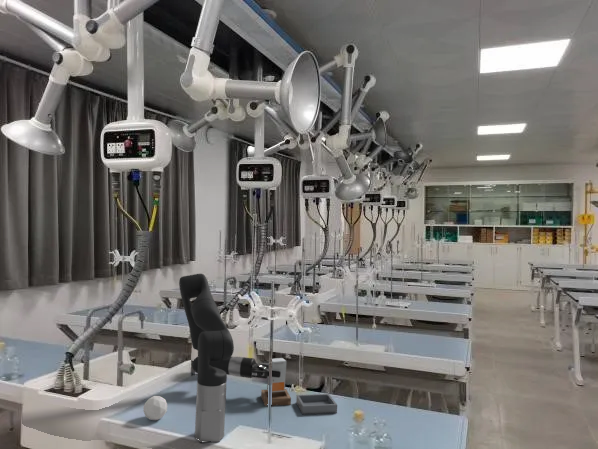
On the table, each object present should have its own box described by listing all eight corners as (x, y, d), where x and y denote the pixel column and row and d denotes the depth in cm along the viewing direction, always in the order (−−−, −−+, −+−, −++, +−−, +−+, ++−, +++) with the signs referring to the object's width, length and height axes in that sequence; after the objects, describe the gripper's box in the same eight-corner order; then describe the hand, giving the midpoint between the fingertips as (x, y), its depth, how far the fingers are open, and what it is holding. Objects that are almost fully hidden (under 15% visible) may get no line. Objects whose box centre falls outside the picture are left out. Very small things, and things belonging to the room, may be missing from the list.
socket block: (290, 404, 171) (290, 398, 171) (264, 405, 169) (265, 399, 169) (285, 395, 180) (286, 388, 180) (261, 396, 178) (261, 389, 178)
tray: (336, 412, 165) (337, 404, 165) (302, 414, 162) (303, 406, 162) (328, 401, 176) (328, 393, 176) (296, 402, 173) (296, 395, 173)
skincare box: (270, 393, 171) (272, 361, 171) (266, 389, 175) (268, 358, 175) (285, 391, 174) (286, 360, 174) (281, 387, 177) (282, 357, 178)
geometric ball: (148, 428, 152) (134, 410, 151) (162, 411, 159) (148, 394, 158) (162, 422, 148) (148, 403, 148) (176, 405, 156) (162, 387, 155)
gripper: (236, 362, 171) (278, 367, 167) (248, 353, 185) (287, 357, 181) (235, 382, 170) (277, 387, 167) (247, 371, 184) (286, 375, 181)
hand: (282, 371), depth 174 cm, fingers closed on skincare box, 6 cm apart
